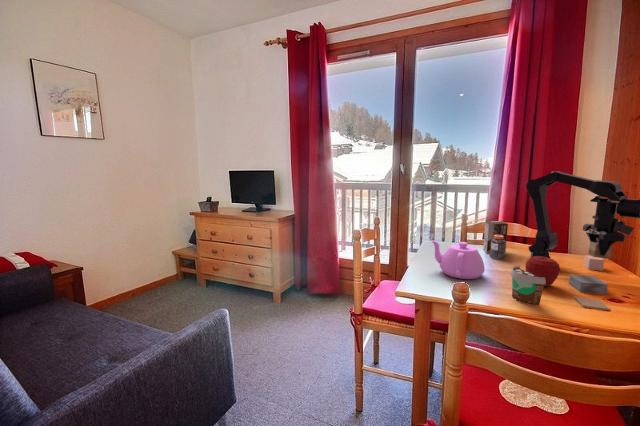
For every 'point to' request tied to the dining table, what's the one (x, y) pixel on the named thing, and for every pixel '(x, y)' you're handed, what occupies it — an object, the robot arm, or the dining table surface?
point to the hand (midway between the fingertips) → (599, 253)
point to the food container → (526, 286)
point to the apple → (543, 268)
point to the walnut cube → (596, 253)
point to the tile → (591, 303)
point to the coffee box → (494, 233)
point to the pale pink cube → (593, 263)
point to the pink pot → (460, 261)
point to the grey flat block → (588, 284)
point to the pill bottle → (497, 247)
